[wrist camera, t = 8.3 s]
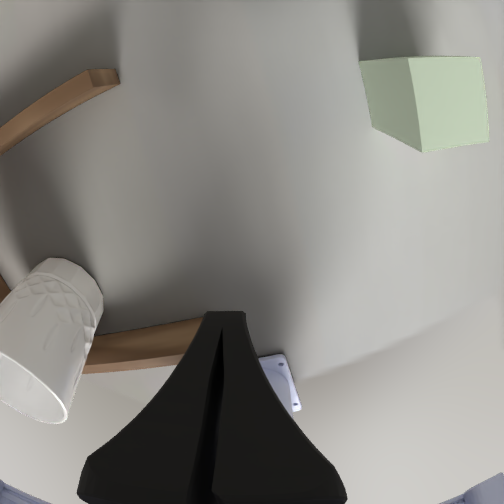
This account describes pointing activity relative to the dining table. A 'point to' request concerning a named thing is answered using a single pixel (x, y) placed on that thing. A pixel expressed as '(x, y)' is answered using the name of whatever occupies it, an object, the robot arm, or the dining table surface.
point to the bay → (122, 343)
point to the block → (428, 100)
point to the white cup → (47, 338)
